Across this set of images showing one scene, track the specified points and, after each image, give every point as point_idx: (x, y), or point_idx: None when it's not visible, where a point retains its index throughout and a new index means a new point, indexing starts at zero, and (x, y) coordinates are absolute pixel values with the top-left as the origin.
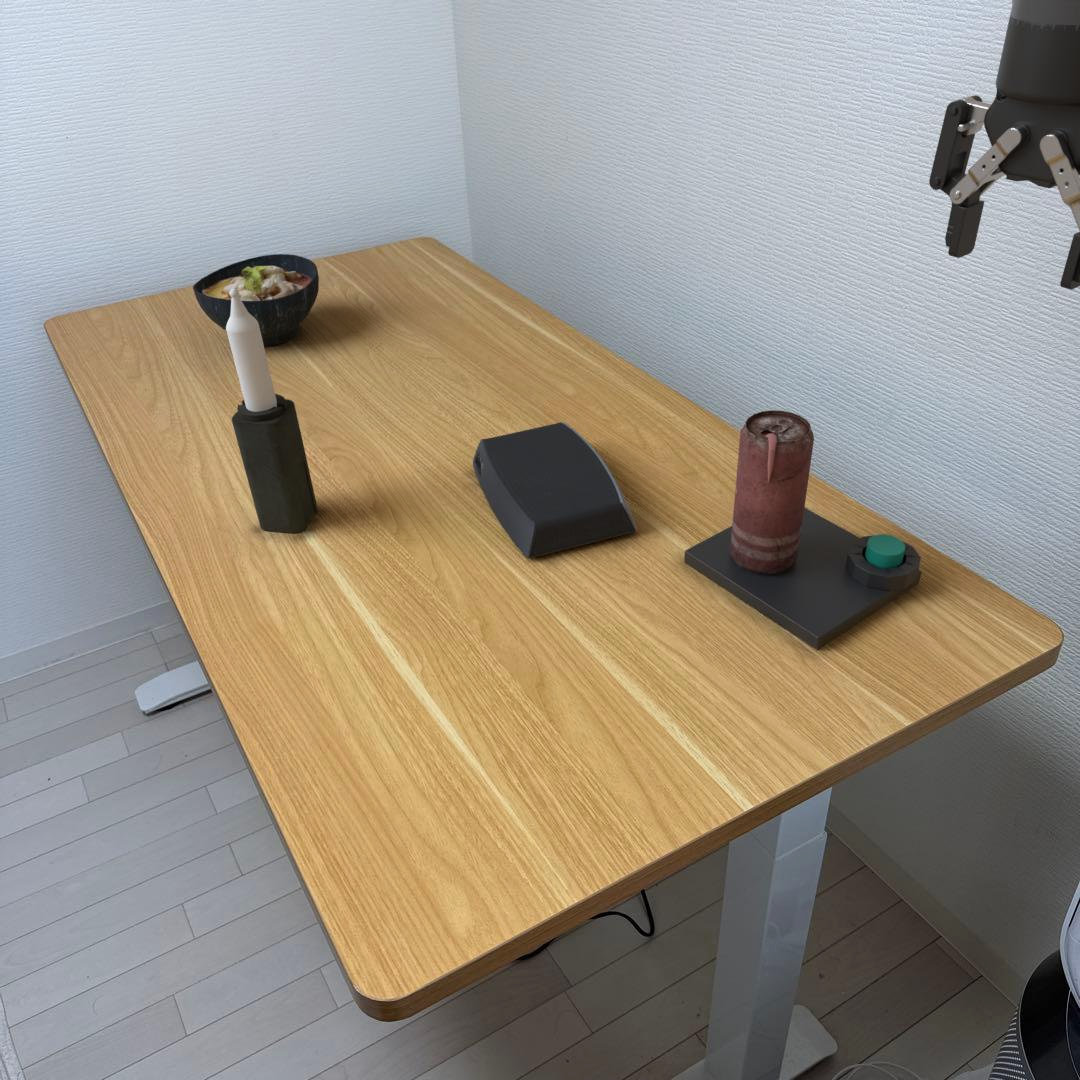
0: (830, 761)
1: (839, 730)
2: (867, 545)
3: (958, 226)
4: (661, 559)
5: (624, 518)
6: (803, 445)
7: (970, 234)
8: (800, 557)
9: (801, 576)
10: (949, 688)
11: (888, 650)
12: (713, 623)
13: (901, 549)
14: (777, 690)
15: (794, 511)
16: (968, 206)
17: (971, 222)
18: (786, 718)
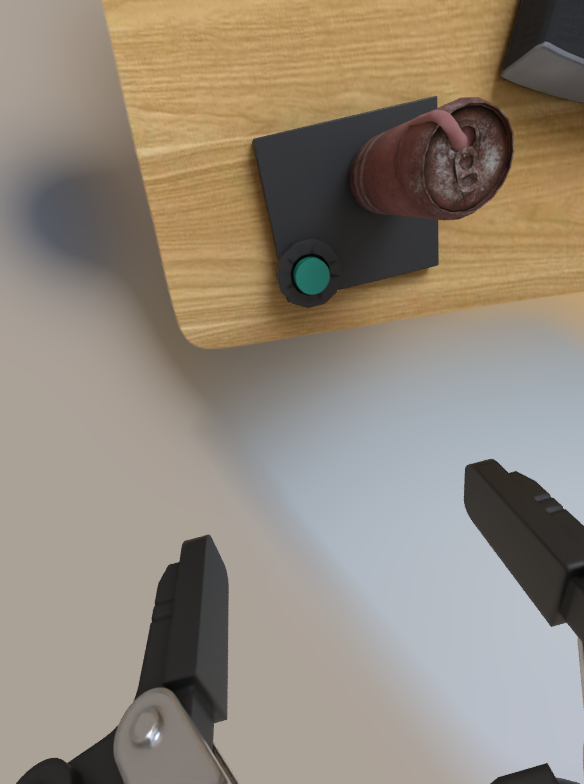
0: (111, 31)
1: (147, 76)
2: (322, 261)
3: (532, 515)
4: (448, 76)
5: (523, 49)
6: (414, 172)
7: (495, 527)
8: (359, 212)
9: (336, 192)
10: (164, 224)
11: (225, 209)
12: (334, 59)
13: (300, 284)
14: (218, 53)
15: (373, 175)
16: (567, 580)
17: (519, 551)
18: (179, 30)
